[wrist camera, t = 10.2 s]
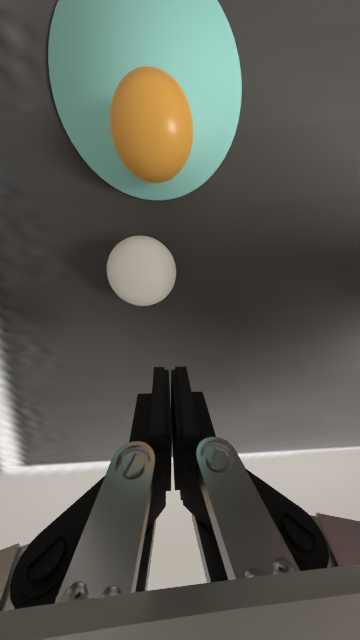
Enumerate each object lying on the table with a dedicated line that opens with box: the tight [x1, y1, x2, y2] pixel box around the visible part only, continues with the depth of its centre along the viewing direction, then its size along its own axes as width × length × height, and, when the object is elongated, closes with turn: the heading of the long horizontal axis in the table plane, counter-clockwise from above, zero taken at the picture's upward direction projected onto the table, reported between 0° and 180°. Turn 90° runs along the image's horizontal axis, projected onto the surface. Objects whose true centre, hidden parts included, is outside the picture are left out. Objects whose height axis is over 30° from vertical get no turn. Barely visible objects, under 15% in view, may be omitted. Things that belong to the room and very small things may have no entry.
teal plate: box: [48, 0, 242, 201], centre depth 14 cm, size 14×14×1 cm
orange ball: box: [110, 66, 194, 184], centre depth 13 cm, size 6×6×6 cm
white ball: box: [107, 236, 176, 306], centre depth 16 cm, size 6×6×6 cm
